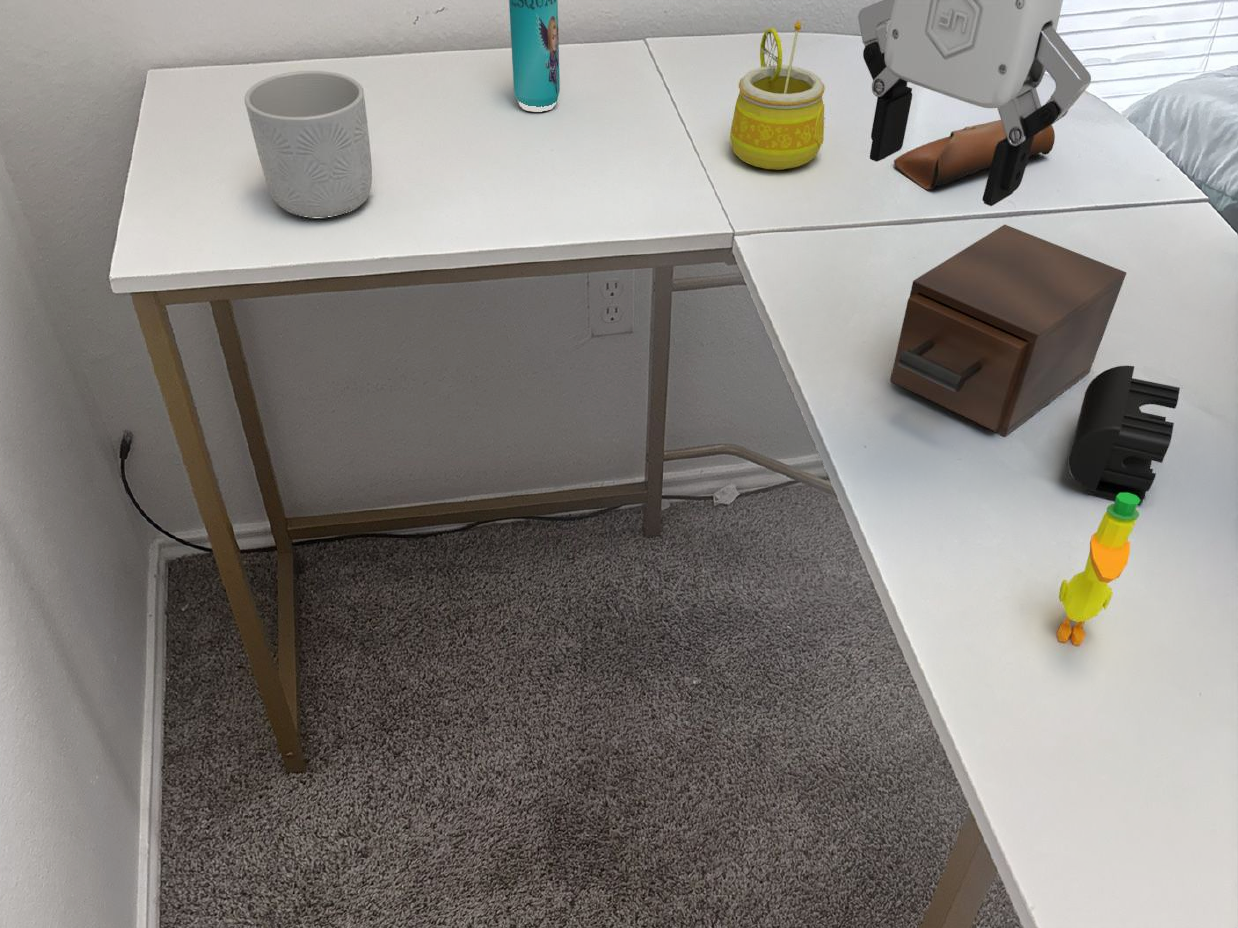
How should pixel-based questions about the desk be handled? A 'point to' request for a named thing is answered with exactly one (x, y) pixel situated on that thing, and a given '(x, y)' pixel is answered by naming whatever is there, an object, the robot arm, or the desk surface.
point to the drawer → (957, 360)
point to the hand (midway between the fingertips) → (940, 176)
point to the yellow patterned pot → (778, 112)
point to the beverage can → (535, 51)
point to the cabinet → (1031, 308)
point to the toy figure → (1099, 568)
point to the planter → (312, 141)
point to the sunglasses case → (962, 154)
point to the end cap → (1120, 434)
